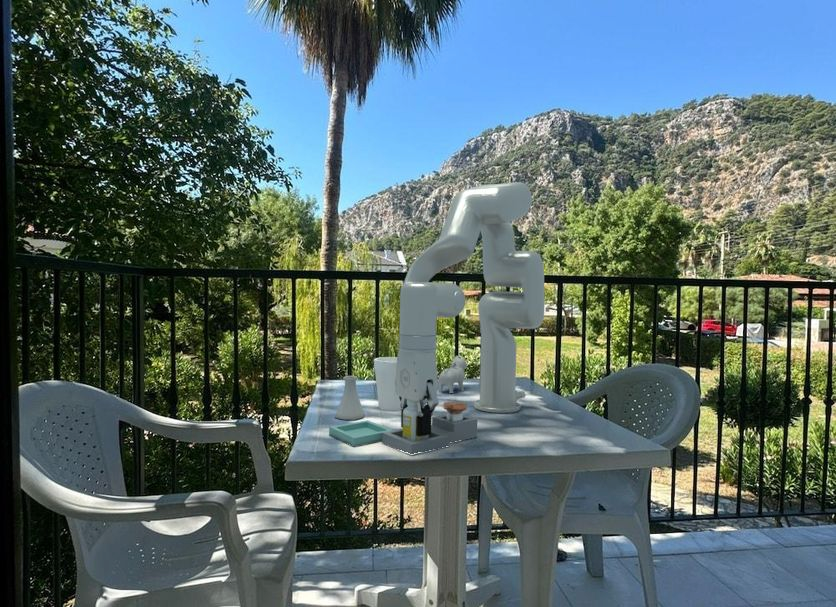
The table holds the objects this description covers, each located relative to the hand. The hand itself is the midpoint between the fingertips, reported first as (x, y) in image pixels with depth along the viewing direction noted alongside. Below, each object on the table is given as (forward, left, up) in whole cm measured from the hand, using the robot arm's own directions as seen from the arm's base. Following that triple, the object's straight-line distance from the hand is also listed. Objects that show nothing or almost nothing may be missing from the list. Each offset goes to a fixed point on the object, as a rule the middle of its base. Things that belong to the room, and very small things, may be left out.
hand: (415, 430), depth 107 cm
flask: (-1, -27, -3) cm, 27 cm away
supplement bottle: (0, 0, -3) cm, 3 cm away
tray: (+6, -11, -3) cm, 13 cm away
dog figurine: (-45, -37, -3) cm, 58 cm away
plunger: (-11, 0, -3) cm, 11 cm away
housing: (-5, 0, -3) cm, 6 cm away
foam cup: (-15, -29, -3) cm, 33 cm away
